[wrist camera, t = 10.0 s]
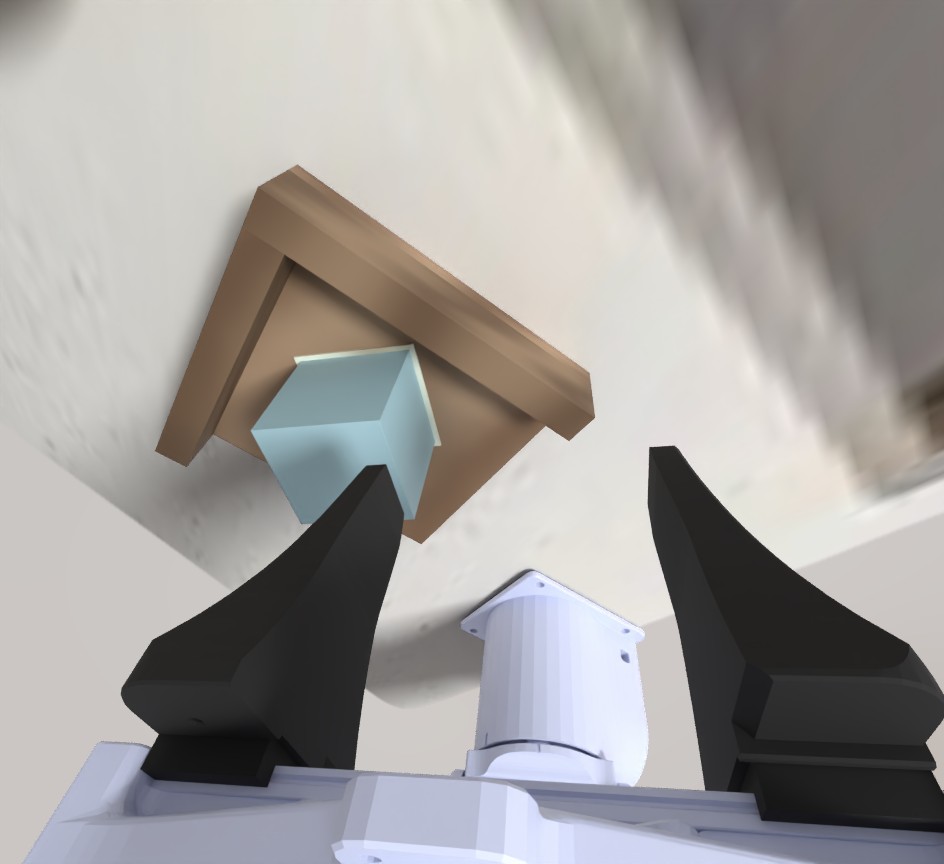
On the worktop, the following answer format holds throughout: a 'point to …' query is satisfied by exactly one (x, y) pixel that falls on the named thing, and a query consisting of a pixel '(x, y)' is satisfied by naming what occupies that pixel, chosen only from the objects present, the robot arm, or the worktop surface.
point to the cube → (347, 430)
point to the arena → (368, 342)
